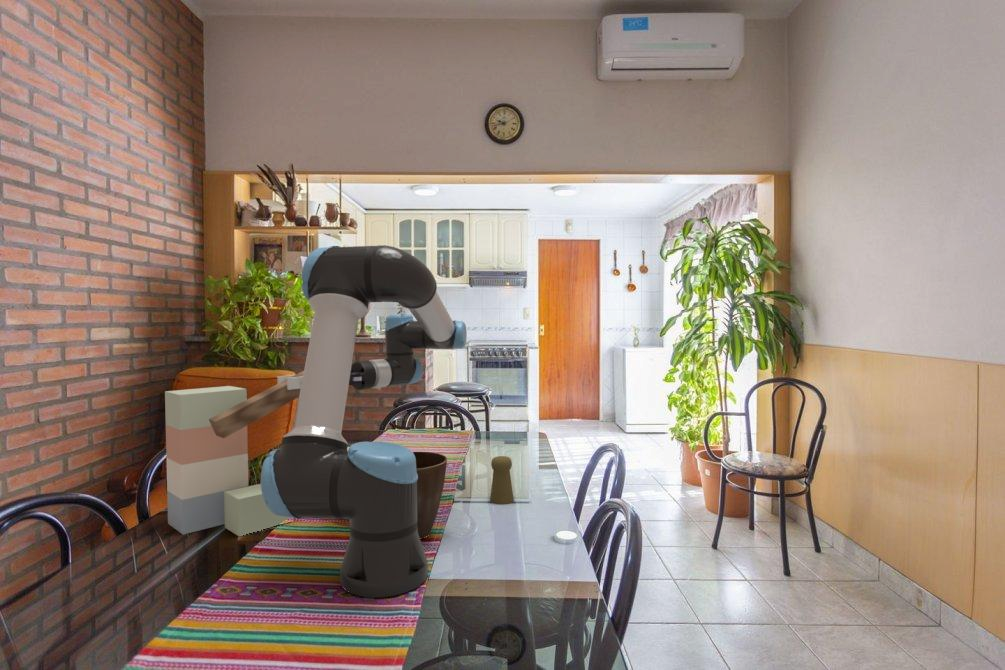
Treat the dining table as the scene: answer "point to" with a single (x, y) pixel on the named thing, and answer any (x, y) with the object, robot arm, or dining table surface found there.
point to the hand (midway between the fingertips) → (283, 383)
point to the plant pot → (429, 489)
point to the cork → (501, 481)
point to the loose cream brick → (248, 511)
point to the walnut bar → (253, 408)
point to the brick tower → (202, 456)
